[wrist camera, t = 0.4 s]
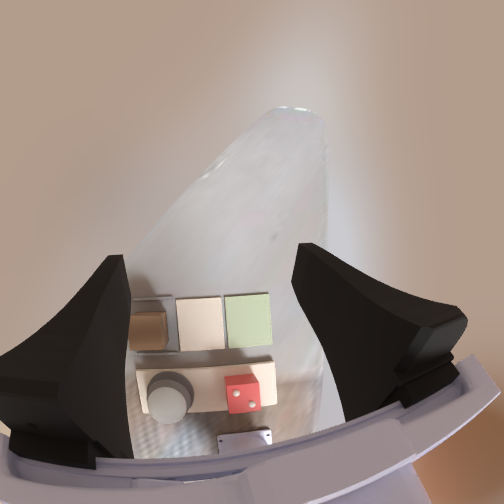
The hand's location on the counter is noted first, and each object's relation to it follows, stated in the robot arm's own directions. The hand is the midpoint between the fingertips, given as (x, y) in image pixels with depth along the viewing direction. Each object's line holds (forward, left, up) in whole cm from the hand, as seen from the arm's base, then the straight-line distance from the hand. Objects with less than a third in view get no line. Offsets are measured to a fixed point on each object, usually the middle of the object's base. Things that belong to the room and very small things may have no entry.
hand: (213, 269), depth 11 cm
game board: (-10, +1, -27) cm, 29 cm away
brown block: (-6, +8, -27) cm, 29 cm away
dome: (-15, +6, -24) cm, 29 cm away
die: (-15, -3, -26) cm, 30 cm away
